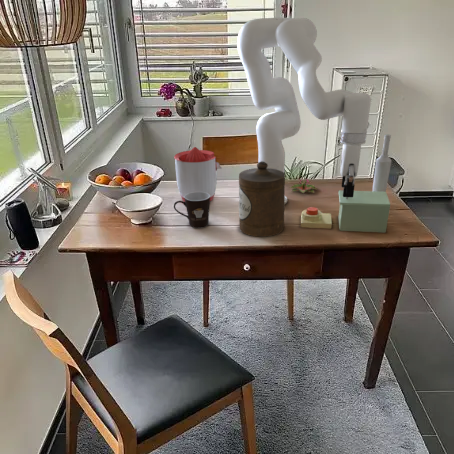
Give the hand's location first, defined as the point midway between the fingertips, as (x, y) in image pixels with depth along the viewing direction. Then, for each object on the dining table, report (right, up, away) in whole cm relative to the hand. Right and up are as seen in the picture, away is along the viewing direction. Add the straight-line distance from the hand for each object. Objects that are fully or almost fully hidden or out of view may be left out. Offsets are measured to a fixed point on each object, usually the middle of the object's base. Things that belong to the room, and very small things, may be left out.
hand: (347, 191), depth 153 cm
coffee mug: (-50, -9, +9) cm, 52 cm away
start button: (-10, -6, +6) cm, 13 cm away
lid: (+5, -2, +1) cm, 6 cm away
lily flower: (-9, +9, +35) cm, 37 cm away
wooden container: (-28, -11, +5) cm, 30 cm away
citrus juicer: (-49, +3, +28) cm, 57 cm away
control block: (-9, -9, +7) cm, 14 cm away
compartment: (+6, -10, +5) cm, 13 cm away
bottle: (+16, -1, +20) cm, 25 cm away
